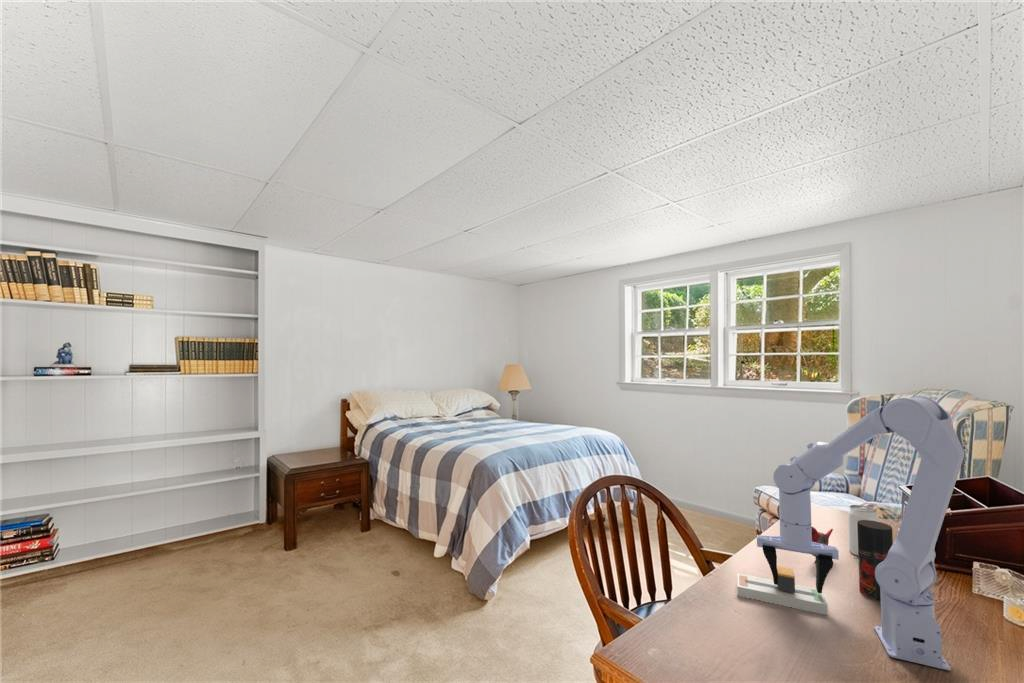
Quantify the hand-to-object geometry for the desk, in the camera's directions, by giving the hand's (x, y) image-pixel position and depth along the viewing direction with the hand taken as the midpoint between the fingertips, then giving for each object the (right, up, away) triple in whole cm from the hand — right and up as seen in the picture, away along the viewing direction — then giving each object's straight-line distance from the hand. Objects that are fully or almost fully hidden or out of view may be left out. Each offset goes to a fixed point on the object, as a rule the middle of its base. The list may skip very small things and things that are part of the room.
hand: (796, 586), depth 95 cm
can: (+33, -5, +24) cm, 41 cm away
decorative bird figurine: (+19, -4, +20) cm, 27 cm away
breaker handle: (-2, -1, +1) cm, 2 cm away
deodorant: (+19, -4, +3) cm, 20 cm away
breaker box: (-3, -3, +1) cm, 4 cm away
